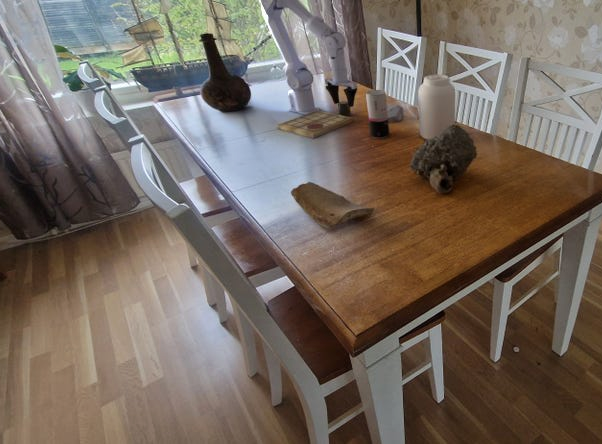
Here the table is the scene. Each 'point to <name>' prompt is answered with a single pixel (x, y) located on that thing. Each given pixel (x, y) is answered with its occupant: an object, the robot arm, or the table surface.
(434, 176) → the encrusted bottle
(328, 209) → the fossil
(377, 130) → the beverage can
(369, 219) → the table surface
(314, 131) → the board
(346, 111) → the black canister
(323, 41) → the robot arm
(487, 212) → the table surface
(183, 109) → the table surface
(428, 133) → the white jar
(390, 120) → the stone block
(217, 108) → the glass bottle
